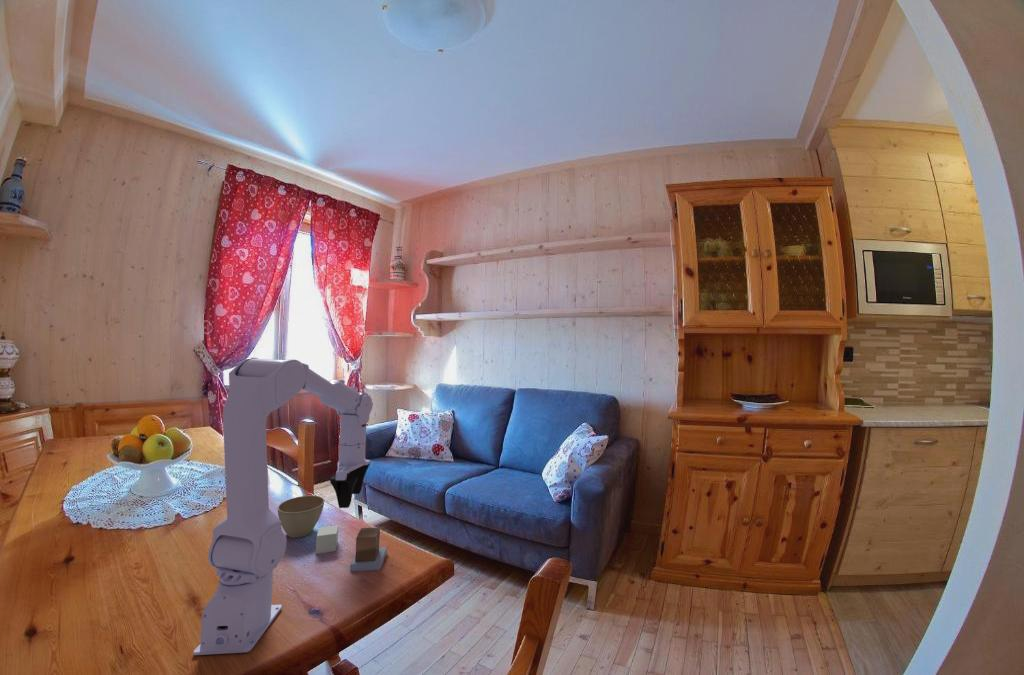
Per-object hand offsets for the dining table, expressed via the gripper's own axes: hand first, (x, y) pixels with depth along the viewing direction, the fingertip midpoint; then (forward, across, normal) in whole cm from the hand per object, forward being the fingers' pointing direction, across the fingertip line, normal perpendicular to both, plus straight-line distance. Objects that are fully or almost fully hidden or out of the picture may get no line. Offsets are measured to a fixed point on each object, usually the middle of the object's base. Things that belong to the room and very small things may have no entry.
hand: (350, 500), depth 84 cm
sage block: (+10, -2, +4) cm, 11 cm away
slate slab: (+11, -8, -7) cm, 15 cm away
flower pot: (+10, +5, +13) cm, 17 cm away
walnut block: (+8, -8, -7) cm, 14 cm away
